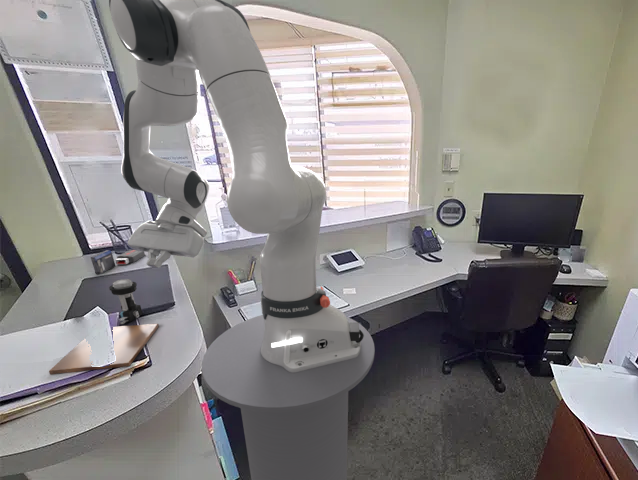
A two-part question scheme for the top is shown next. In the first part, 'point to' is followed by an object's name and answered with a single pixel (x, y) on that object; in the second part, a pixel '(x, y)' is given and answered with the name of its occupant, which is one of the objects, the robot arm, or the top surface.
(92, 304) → the top surface
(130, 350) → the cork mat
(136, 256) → the usb drive
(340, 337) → the robot arm
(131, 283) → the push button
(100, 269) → the mini dv tape
